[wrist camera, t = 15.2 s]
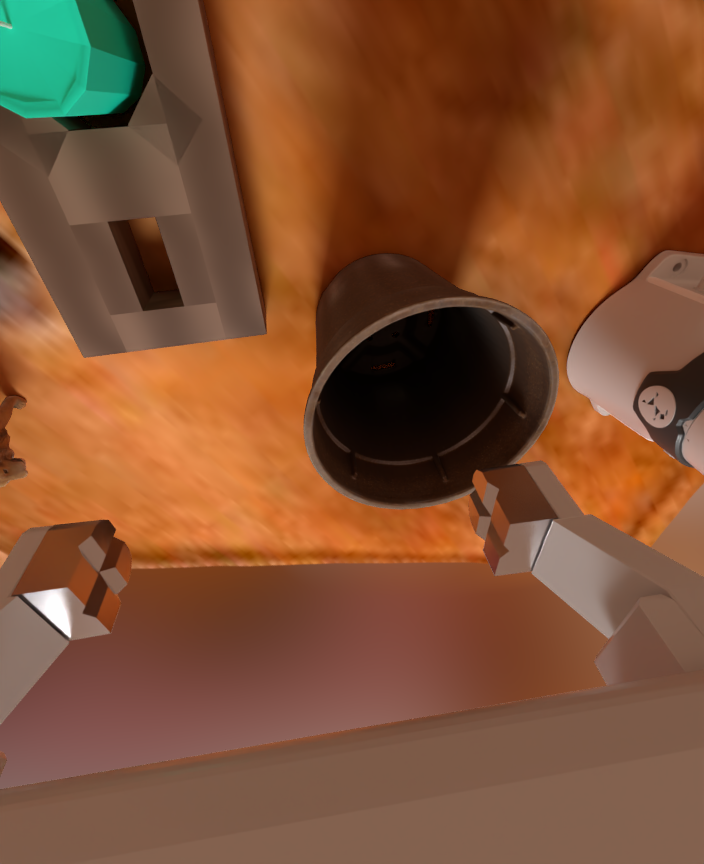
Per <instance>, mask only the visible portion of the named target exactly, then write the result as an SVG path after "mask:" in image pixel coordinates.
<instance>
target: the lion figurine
mask: <svg viewBox="0 0 704 864" xmlns="http://www.w3.org/2000/svg"><path fill="white" fill-rule="evenodd" d="M26 403H27V401H26V400H25V399H23V398H21V397H19V396H8V397H6V398H5V399H4V401H3V402H2V404H1V406H0V487H4V486H6V484H7V483H8V482H9V481H10V480H15V479H20V478H25V477H26V476H27V474H28V472H27V470H26V462H25V460H24V459H22V458H14V452H13V450H12V449H10V448H9V442H10V436H9V435H8V434H7V430H6V429H5V426H6V425H7V423H8V421H9V419H10V417H11V415H12V410H13V408H17V409H22V408H23V407H25V406H26Z"/></svg>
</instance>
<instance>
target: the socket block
mask: <svg viewBox="0 0 704 864" xmlns="http://www.w3.org/2000/svg"><path fill="white" fill-rule="evenodd" d="M133 4H134V7H135V11H136V14H137V18H138V22H139V25H140V29H141V33H142V36H143V40H144V43H145V47H146V51H147V54H148V58H149V61H150V65H151V69H152V72H153V74H152V75H151V77H150V79H149V82H148V84H147V86H146V88H145V90H144V92H143V94H142V96H141V98H140V100H139V103H138V105H137V107H136V109H135V111H134V113H133V115H132V117H131V119H130V122H129V124H128V126H117V127H104V128H91V127H90V126H88V125H87V124H86V123H84V122H83V121H82V120H81V119H79V118H78V117H77V116H65V117H43V118H24V117H22V116H20V115H18V114H16V113H15V112H13V111H11V110H9V109H7V108H5V107H3V106H1V105H0V201H1V203H2V205H3V207H4V209H5V211H6V212H7V214H8V216H9V218H10V220H11V222H12V224H13V226H14V227H15V229H16V231H17V233H18V235H19V237H20V239H21V241H22V242H23V244H24V246H25V248H26V250H27V252H28V254H29V256H30V257H31V259H32V261H33V263H34V265H35V267H36V269H37V271H38V272H39V274H40V276H41V278H42V280H43V282H44V284H45V286H46V288H47V289H48V291H49V293H50V295H51V297H52V299H53V301H54V303H55V304H56V306H57V308H58V310H59V312H60V314H61V316H62V318H63V319H64V321H65V323H66V325H67V327H68V329H69V331H70V333H71V334H72V336H73V338H74V340H75V342H76V344H77V346H78V348H79V349H80V351H81V353H82V355H83V357H84V358H86V357H94V356H102V355H109V354H117V353H125V352H133V351H140V350H148V349H156V348H163V347H171V346H179V345H187V344H194V343H202V342H210V341H218V340H225V339H233V338H241V337H248V336H256V335H264V334H267V330H266V311H265V306H264V301H263V296H262V291H261V287H260V282H259V277H258V272H257V267H256V262H255V257H254V252H253V247H252V242H251V237H250V232H249V227H248V222H247V217H246V212H245V207H244V202H243V197H242V192H241V187H240V182H239V177H238V172H237V167H236V162H235V157H234V152H233V147H232V142H231V137H230V132H229V127H228V122H227V117H226V112H225V107H224V102H223V97H222V92H221V87H220V82H219V77H218V72H217V67H216V62H215V57H214V52H213V47H212V42H211V37H210V32H209V27H208V22H207V17H206V12H205V7H204V2H203V0H133ZM149 217H155V218H156V221H157V224H158V227H159V230H160V233H161V236H162V239H163V242H164V245H165V248H166V251H167V254H168V257H169V260H170V263H171V266H172V269H173V272H174V276H175V279H176V282H177V285H178V288H179V290H171V291H162V292H154V291H153V288H152V286H151V283H150V280H149V278H148V275H147V272H146V269H145V267H144V264H143V261H142V259H141V256H140V253H139V250H138V248H137V245H136V242H135V240H134V237H133V234H132V232H131V229H130V226H129V223H128V221H127V220H129V219H139V218H149Z"/></svg>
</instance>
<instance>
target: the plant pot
mask: <svg viewBox="0 0 704 864" xmlns="http://www.w3.org/2000/svg"><path fill="white" fill-rule="evenodd" d="M433 309H434V319H433V323H432V325H431V327H429V326H428V317H429V316H428V311H429V310H433ZM394 332H398V333H399V335H398V337H395V338H394V337H392V334H393V333H394ZM369 336H372V340H371V341H367V340H366V338H368V337H369ZM316 351H317V355H316V370H315V374H314V378H313V383H312V389H311V391H310V394H309V397H308V400H307V404H306V408H305V415H304V439H305V445H306V449H307V452H308V455H309V457H310V460H311V462H312V464H313V466H314V467H315V469H316V470H317V472H318V473H319V474H320V476H321V477H322V478H323V479H324V480H325V481H326V482H327V483H328V484H329V485H330V486H331V487H333V488H334V489H335V490H336V491H338V492H339V493H341V494H343V495H344V496H346V497H348V498H350V499H352V500H354V501H357V502H359V503H363V504H366V505H370V506H374V507H379V508H388V509H415V508H423V507H429V506H434V505H438V504H443V503H447V502H449V501H452V500H455V499H458V498H461V497H463V496H466V495H468V494H470V493H472V492H473V491H474V490H475V489H476V488H475V486H474V484H473V482H472V480H473V475H474V473H475V471H476V470H478V469H484V468H491V467H498V466H505V465H512V464H515V463H516V462H517V461H518V460H520V459H521V458H522V457H523V456H524V454H525V453H526V452H527V451H528V450H529V449H530V448H531V447H532V446H533V444H534V443H535V442H536V440H537V439H538V438H539V436H540V435H541V433H542V431H543V430H544V428H545V426H546V425H547V423H548V420H549V418H550V416H551V414H552V411H553V408H554V405H555V401H556V397H557V391H558V384H559V371H558V362H557V358H556V354H555V351H554V349H553V346H552V344H551V342H550V340H549V338H548V336H547V335H546V333H545V332H544V331H543V329H542V328H541V327H540V326H539V325H538V324H537V323H536V322H535V321H534V320H533V319H532V318H530V317H529V316H528V315H526V314H525V313H523V312H522V311H520V310H518V309H517V308H515V307H513V306H511V305H509V304H507V303H504V302H501V301H498V300H495V299H492V298H487V297H482V296H478V295H476V294H474V293H471V292H468V291H465V290H462V289H459V288H457V287H456V286H454V285H453V284H451V283H450V282H448V281H447V280H445V279H444V278H442V277H441V276H439V275H438V274H436V273H434V272H433V271H432V270H430V269H429V268H427V267H426V266H424V265H423V264H422V263H420V262H419V261H417V260H415V259H413V258H410V257H407V256H404V255H399V254H387V253H384V254H375V255H371V256H367V257H364V258H361V259H359V260H357V261H355V262H353V263H351V264H349V265H348V266H346V267H345V268H344V269H342V270H341V271H340V272H339V273H338V274H337V275H336V277H335V278H334V279H333V281H332V282H331V283H330V284H329V286H328V287H327V289H326V290H325V291H324V292H323V294H322V296H321V299H320V301H319V305H318V309H317V314H316ZM391 362H393V363H395V366H394V367H391V368H387V369H381V370H371V369H370V368H371V367H373V366H375V365H378V366H380V365H383V364H385V365H387V364H388V363H391Z"/></svg>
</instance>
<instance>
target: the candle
mask: <svg viewBox="0 0 704 864" xmlns="http://www.w3.org/2000/svg"><path fill="white" fill-rule="evenodd" d="M145 68H146V66H145V62H144V59H143V55H142V52H141V48H140V44H139V41H138V37H137V34H136V31H135V29H134V28H133V27H132V25H131V24H130V23H129V21H128V20H127V18H126V17H125V16H124V14H123V13H122V12H121V10H120V9H119V7H118V6H117V5H116V3H115V2H114V1H113V0H0V105H1V106H3V107H5V108H7V109H9V110H11V111H13V112H15V113H16V114H18V115H20V116H22V117H24V118H43V117H65V116H86V115H104V114H117V113H125V112H126V111H127V110H128V109H129V108H130V107H131V106H132V105H133V103H134V102H135V101H136V100H137V99H138V98H139V97H140V96H141V93H142V87H143V81H144V74H145Z"/></svg>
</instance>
